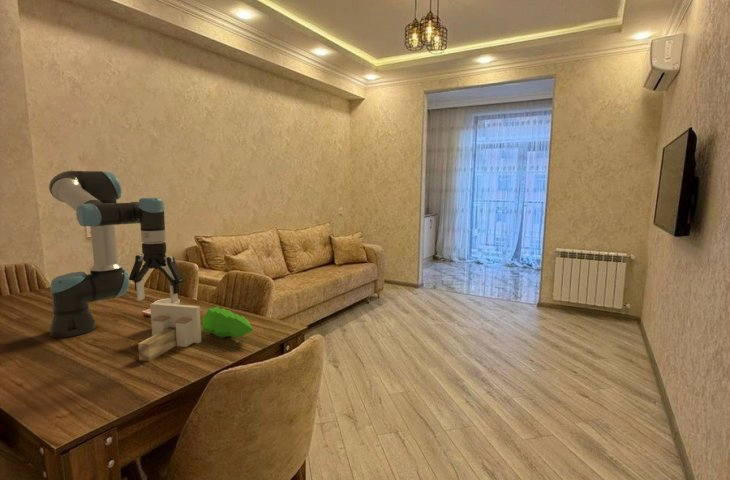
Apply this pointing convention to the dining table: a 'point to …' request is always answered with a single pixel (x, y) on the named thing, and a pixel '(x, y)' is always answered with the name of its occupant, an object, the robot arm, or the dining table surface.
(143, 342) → the rail
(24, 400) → the dining table surface
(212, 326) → the decorative tree
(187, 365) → the dining table surface
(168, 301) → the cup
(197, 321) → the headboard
